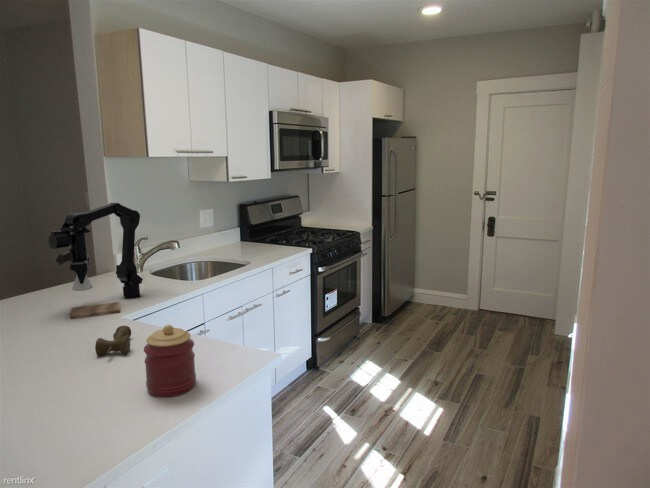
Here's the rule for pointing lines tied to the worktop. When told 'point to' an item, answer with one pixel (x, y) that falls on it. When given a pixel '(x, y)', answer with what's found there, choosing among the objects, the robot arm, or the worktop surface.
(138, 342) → the worktop surface
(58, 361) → the worktop surface
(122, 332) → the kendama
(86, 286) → the flask
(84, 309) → the walnut board
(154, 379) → the canister
